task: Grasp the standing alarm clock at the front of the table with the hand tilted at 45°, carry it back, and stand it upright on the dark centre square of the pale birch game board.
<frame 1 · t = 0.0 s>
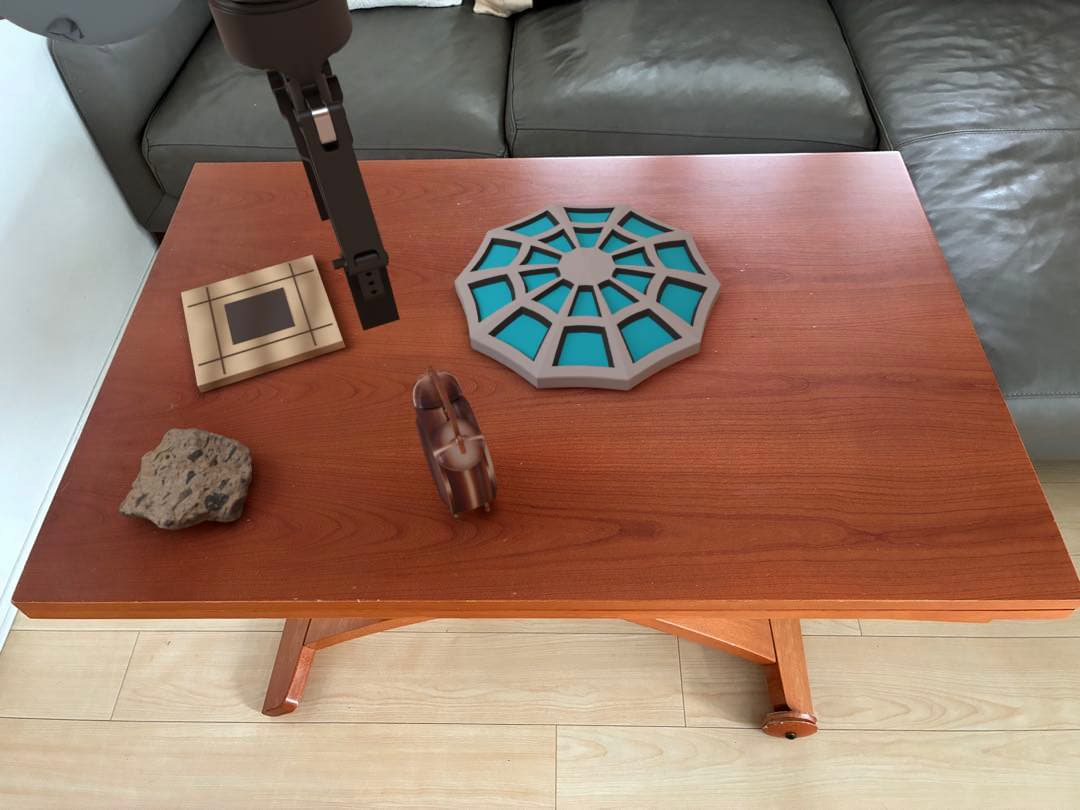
hand: (357, 264, 59), 24 cm above the table, tool pointing down, fingers open, 13 cm apart
game board: (262, 322, 89), on the table
rock: (198, 494, 75), on the table
decorative platform: (586, 297, 90), on the table
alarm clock: (462, 488, 74), on the table
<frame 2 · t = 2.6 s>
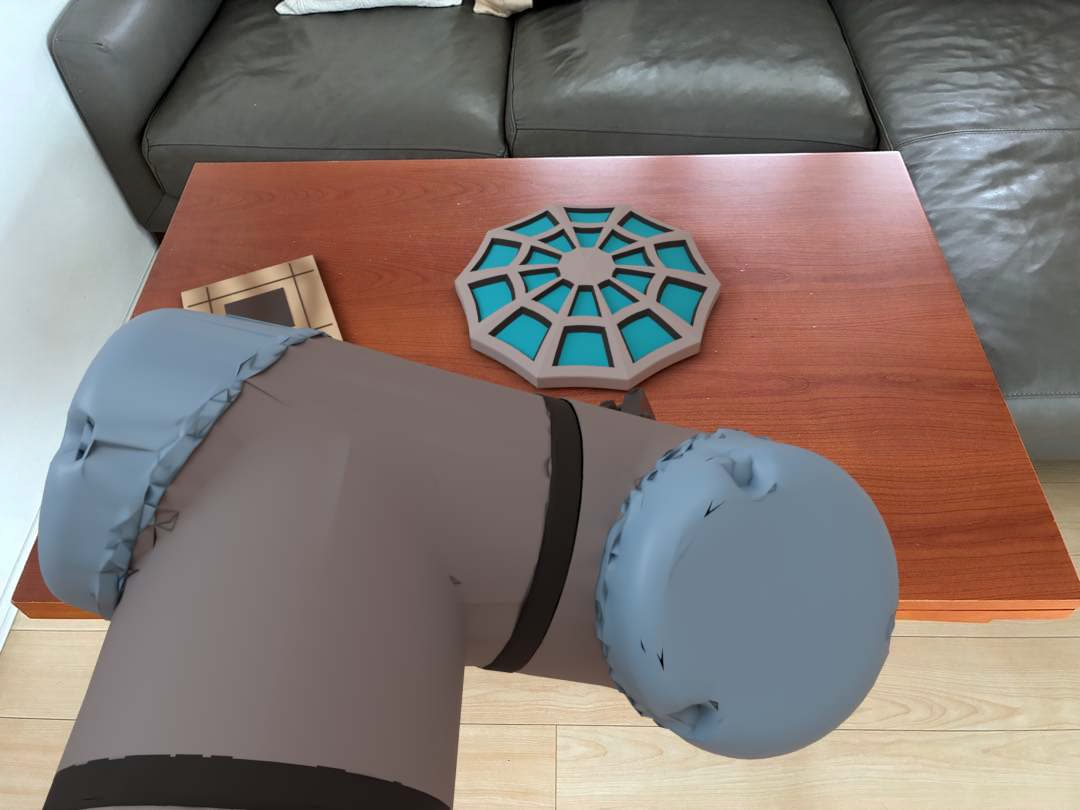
hand: (477, 466, 52), 20 cm above the table, tool tilted 40°, fingers open, 13 cm apart
nothing on the table moved.
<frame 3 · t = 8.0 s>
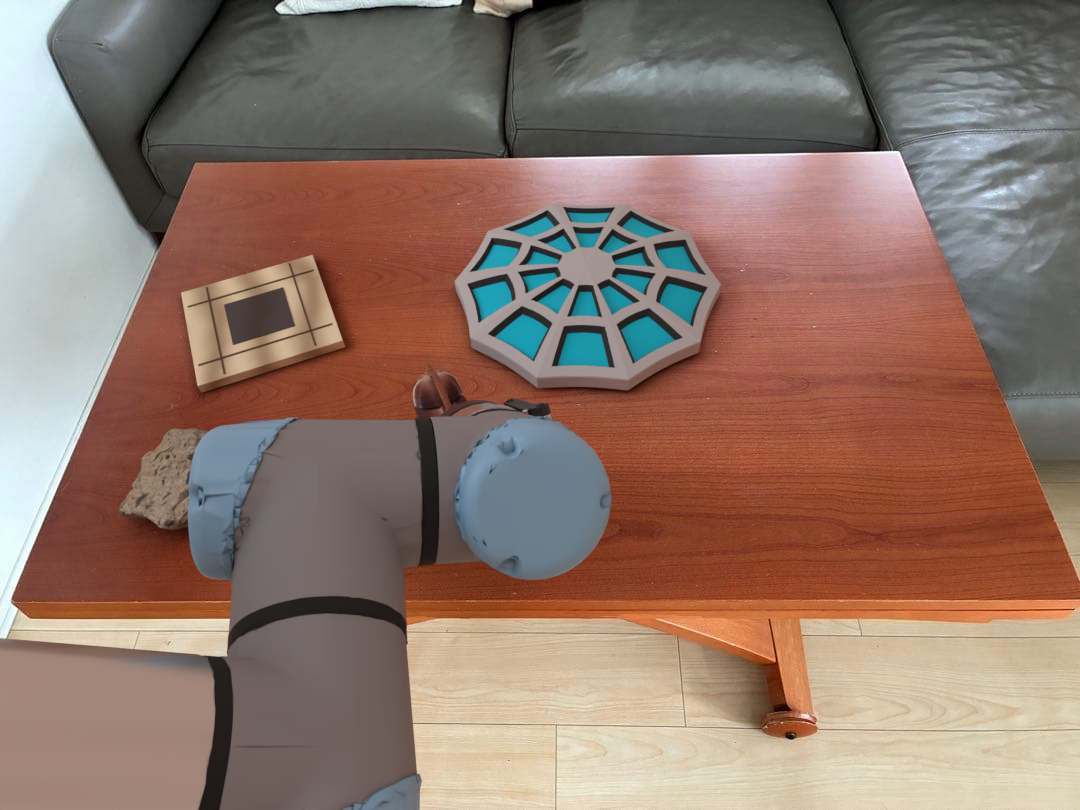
hand: (442, 426, 72), 5 cm above the table, tool tilted 45°, fingers closed on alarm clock, 5 cm apart
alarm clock: (462, 488, 74), on the table, touching gripper
everything else where it was.
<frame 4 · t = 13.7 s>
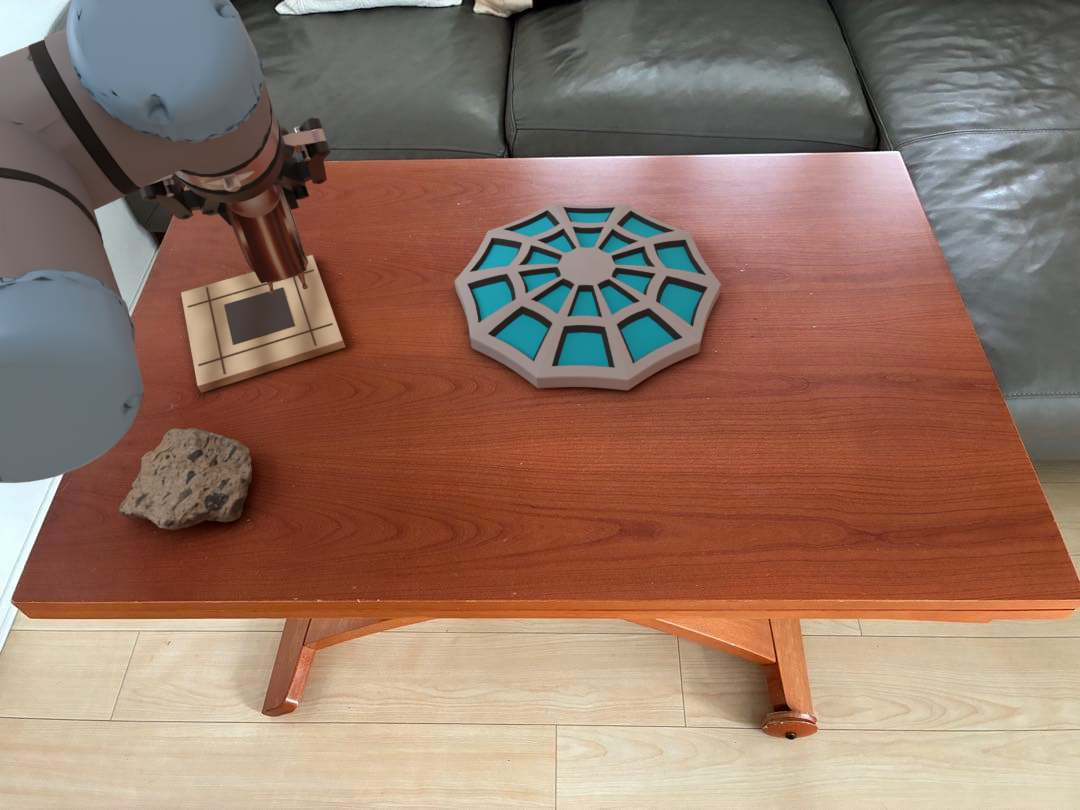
hand: (259, 202, 71), 20 cm above the table, tool tilted 45°, fingers closed on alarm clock, 5 cm apart
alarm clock: (284, 272, 73), point 15 cm above the table, touching gripper
everything else where it was.
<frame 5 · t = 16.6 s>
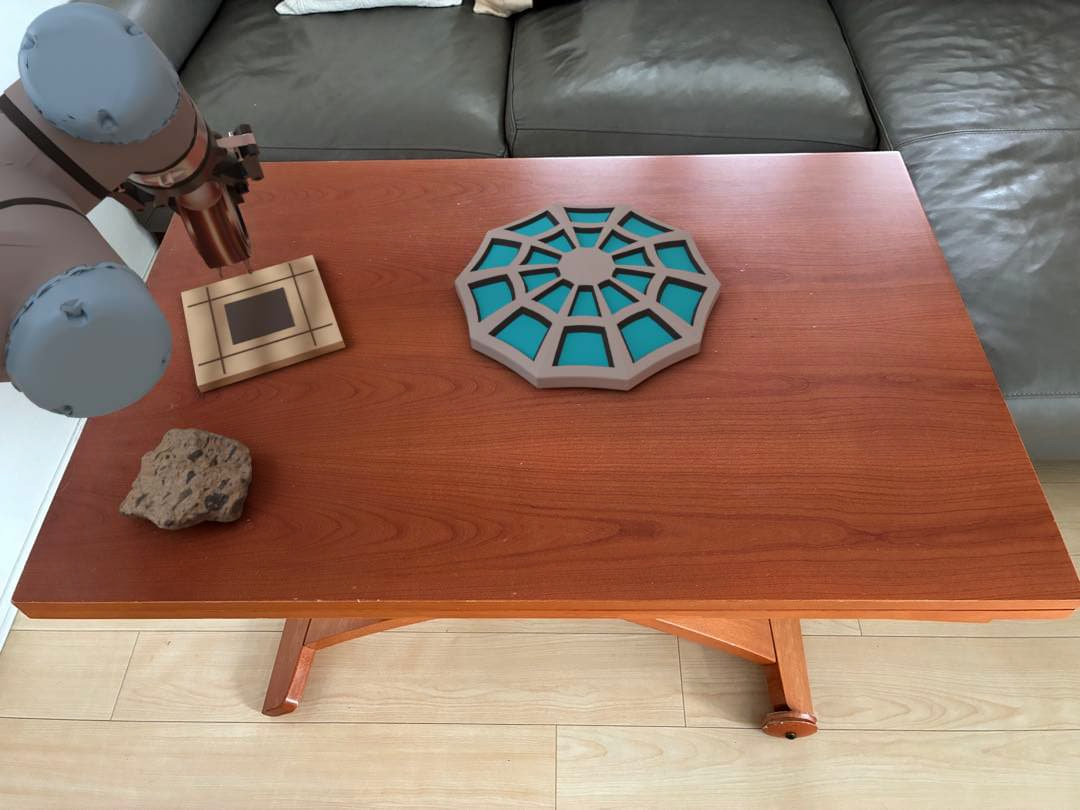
hand: (209, 197, 80), 15 cm above the table, tool tilted 45°, fingers closed on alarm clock, 5 cm apart
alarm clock: (233, 259, 82), point 10 cm above the table, touching gripper
everything else where it was.
when the fingers open (7 cm above the table, at t = 19.2 s): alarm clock stays where it is, resting on game board.
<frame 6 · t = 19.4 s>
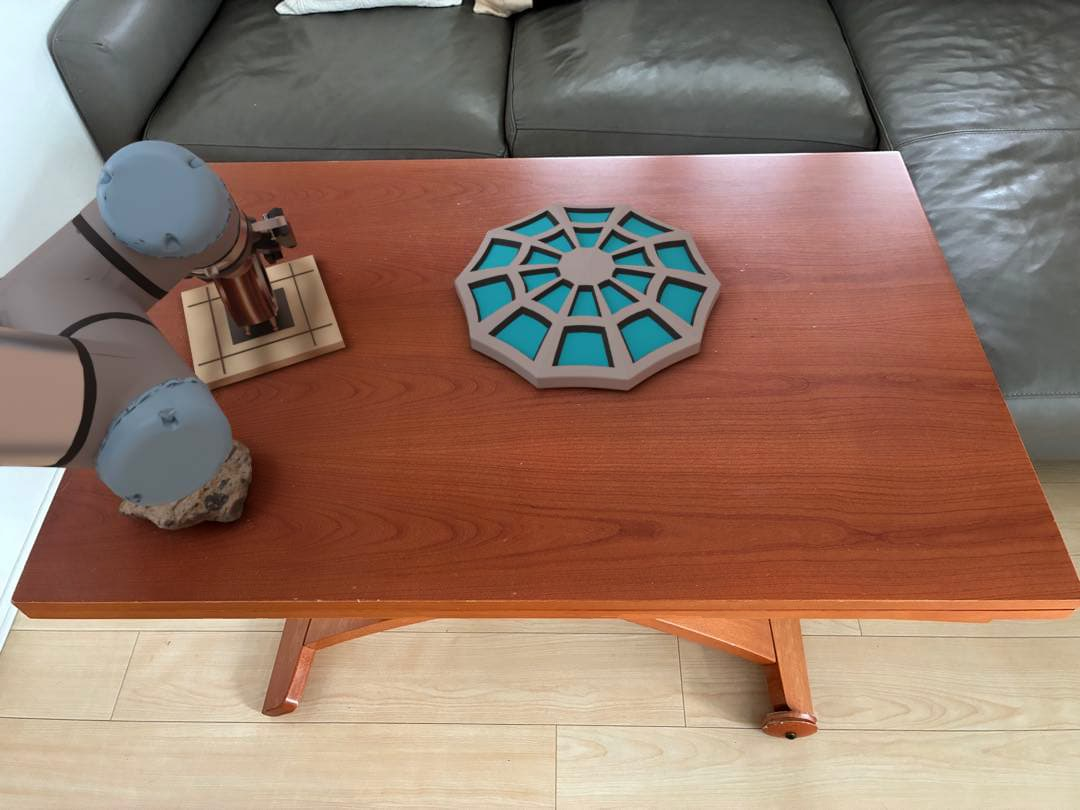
hand: (238, 261, 86), 7 cm above the table, tool tilted 45°, fingers open, 6 cm apart
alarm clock: (259, 316, 89), point 1 cm above the table, touching game board
everything else where it was.
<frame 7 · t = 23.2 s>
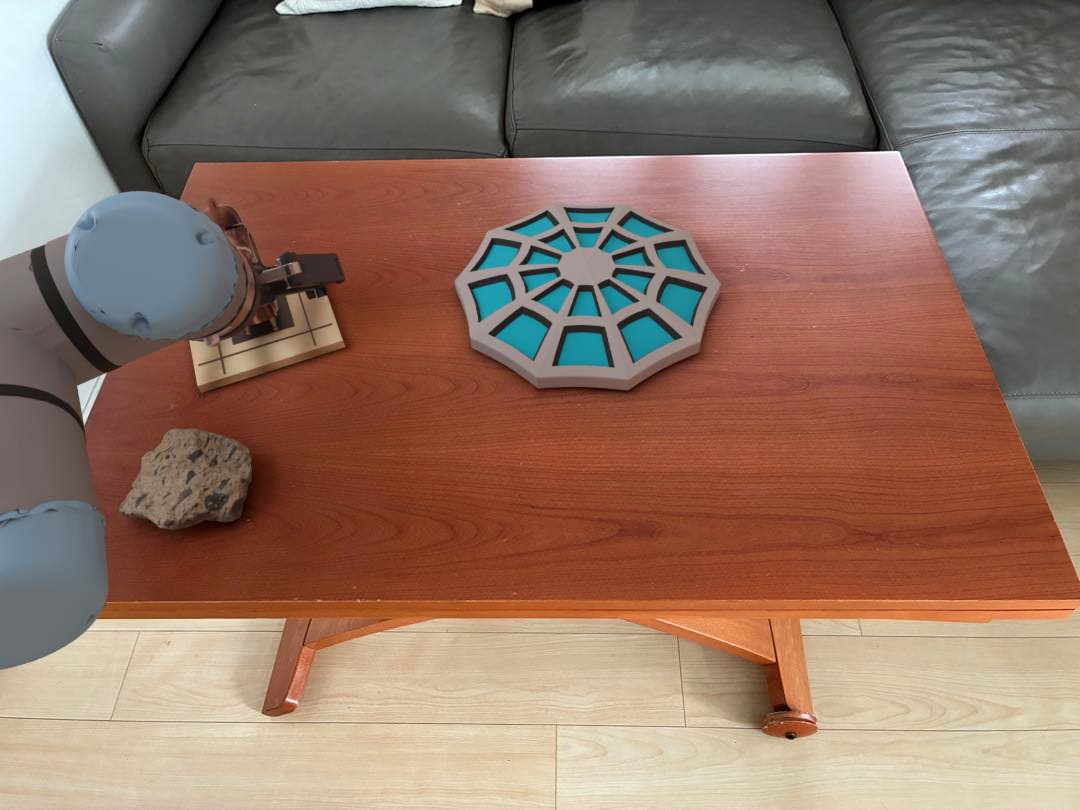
hand: (238, 305, 74), 12 cm above the table, tool tilted 45°, fingers open, 13 cm apart
nothing on the table moved.
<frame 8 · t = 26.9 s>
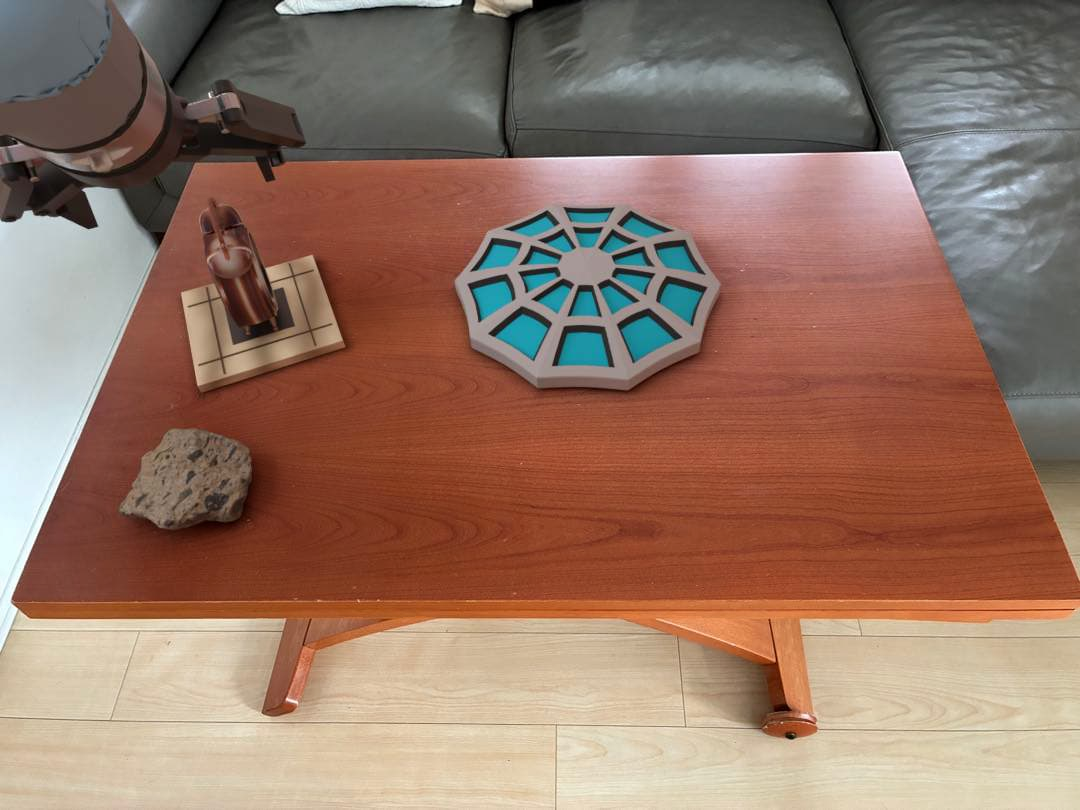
hand: (178, 187, 60), 28 cm above the table, tool tilted 45°, fingers open, 13 cm apart
nothing on the table moved.
at the end: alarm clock 0.0 cm off-centre on the game board, point 1.1 cm above the game board's base; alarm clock tilted 0°; the gripper is holding nothing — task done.
